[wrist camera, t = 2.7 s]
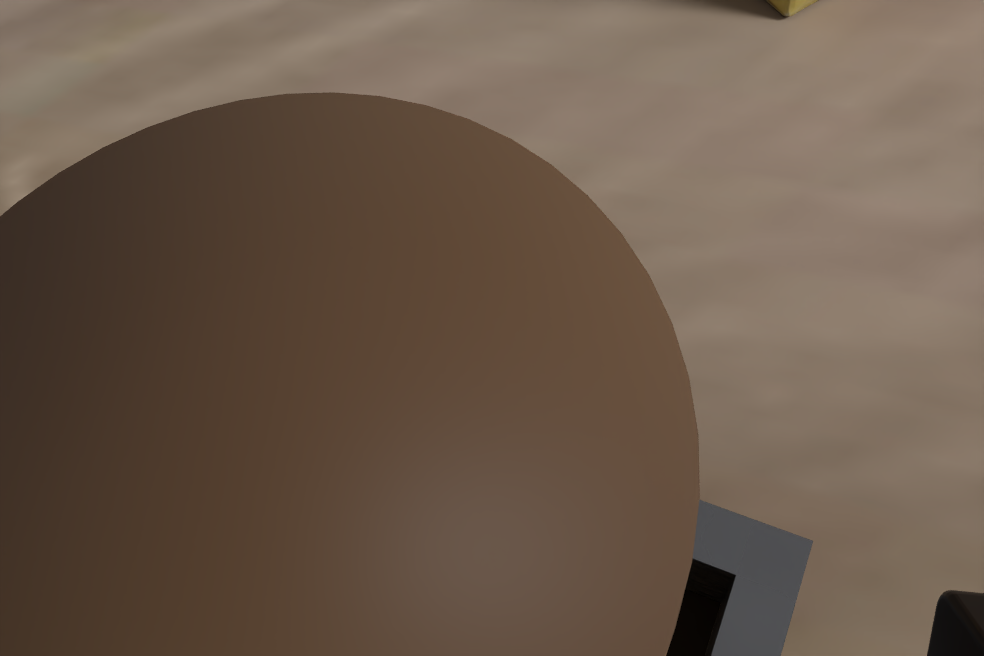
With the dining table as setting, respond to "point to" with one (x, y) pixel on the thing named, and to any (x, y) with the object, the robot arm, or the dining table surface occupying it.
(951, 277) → the dining table surface
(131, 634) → the key peg
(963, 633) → the robot arm
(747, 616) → the socket
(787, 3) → the candy box
